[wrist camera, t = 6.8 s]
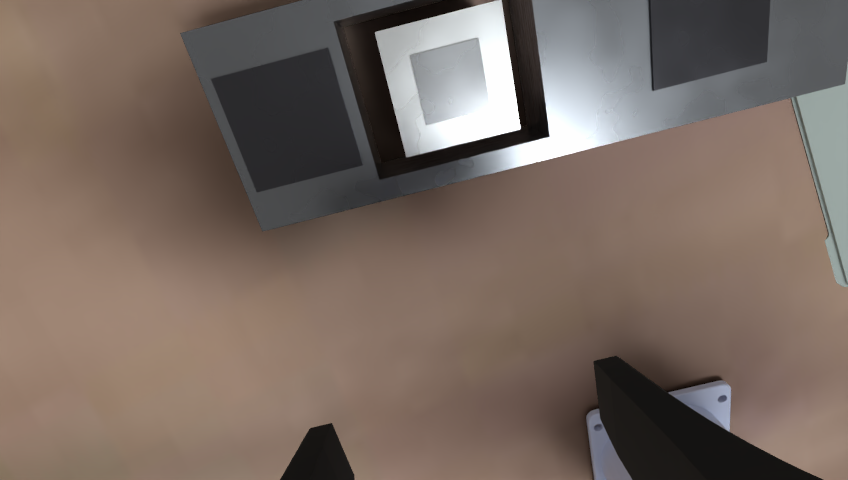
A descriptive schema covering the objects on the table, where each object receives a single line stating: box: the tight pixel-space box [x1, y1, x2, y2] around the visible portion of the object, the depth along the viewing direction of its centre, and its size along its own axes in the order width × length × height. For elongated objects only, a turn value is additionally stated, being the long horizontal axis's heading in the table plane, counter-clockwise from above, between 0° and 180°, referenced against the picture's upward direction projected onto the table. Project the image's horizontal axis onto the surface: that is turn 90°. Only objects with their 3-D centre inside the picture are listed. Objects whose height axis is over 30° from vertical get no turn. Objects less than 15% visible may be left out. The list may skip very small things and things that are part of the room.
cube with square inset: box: [375, 0, 521, 158], centre depth 16 cm, size 4×4×4 cm
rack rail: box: [180, 0, 848, 231], centre depth 16 cm, size 7×22×3 cm, turn 103°
